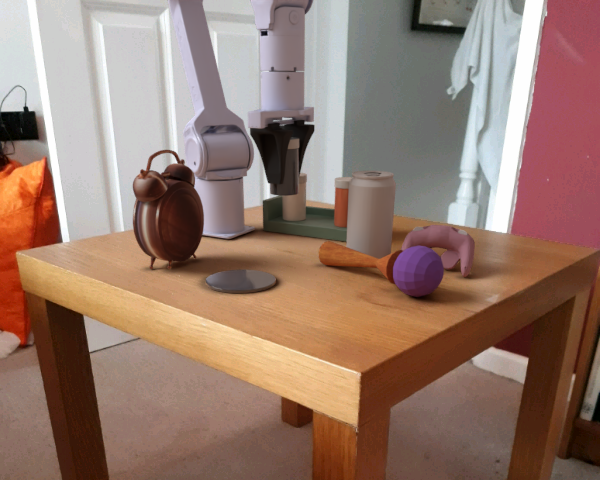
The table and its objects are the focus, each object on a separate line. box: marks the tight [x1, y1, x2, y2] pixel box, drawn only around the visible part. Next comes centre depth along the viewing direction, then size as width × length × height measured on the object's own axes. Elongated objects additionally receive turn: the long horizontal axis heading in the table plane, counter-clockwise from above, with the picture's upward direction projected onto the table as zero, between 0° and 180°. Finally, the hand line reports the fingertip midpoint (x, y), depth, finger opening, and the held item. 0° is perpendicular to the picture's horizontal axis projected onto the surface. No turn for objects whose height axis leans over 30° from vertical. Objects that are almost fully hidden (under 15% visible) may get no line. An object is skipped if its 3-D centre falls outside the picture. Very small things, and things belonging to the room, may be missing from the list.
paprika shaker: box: [333, 176, 353, 228], centre depth 102 cm, size 4×4×7 cm
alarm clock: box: [132, 149, 204, 270], centre depth 85 cm, size 11×5×15 cm, turn 154°
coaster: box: [205, 269, 277, 294], centre depth 81 cm, size 9×9×1 cm
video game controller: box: [400, 224, 476, 278], centre depth 86 cm, size 10×5×7 cm, turn 71°
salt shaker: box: [282, 172, 308, 221], centre depth 106 cm, size 4×4×7 cm
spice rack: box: [262, 195, 347, 243], centre depth 106 cm, size 18×9×5 cm, turn 61°
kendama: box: [318, 240, 445, 298], centre depth 81 cm, size 6×6×20 cm
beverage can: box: [345, 170, 397, 259], centre depth 88 cm, size 6×6×12 cm
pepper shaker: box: [269, 137, 299, 196], centre depth 87 cm, size 4×4×7 cm
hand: (283, 181), depth 88 cm, fingers closed on pepper shaker, 4 cm apart
